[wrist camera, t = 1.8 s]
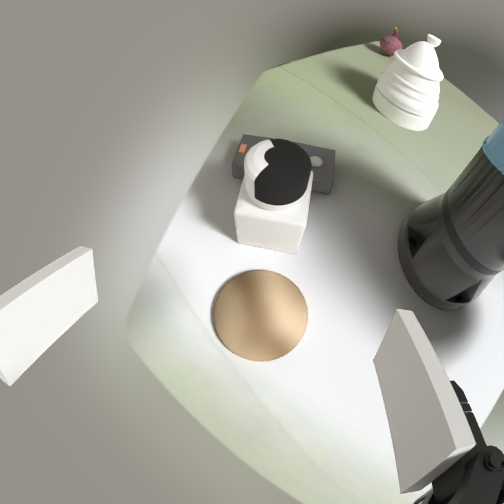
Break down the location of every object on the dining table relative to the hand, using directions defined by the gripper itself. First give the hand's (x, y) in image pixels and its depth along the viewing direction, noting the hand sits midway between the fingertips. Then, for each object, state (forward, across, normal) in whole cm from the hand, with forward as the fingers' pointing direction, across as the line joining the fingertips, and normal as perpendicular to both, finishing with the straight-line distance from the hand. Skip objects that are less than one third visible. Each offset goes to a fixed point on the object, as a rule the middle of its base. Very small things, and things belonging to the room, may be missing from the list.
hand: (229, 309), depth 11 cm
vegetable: (+66, +23, +40) cm, 80 cm away
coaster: (+16, +1, -11) cm, 20 cm away
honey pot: (+47, +21, +20) cm, 55 cm away
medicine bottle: (+24, 0, -3) cm, 25 cm away
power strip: (+31, 0, +3) cm, 31 cm away
